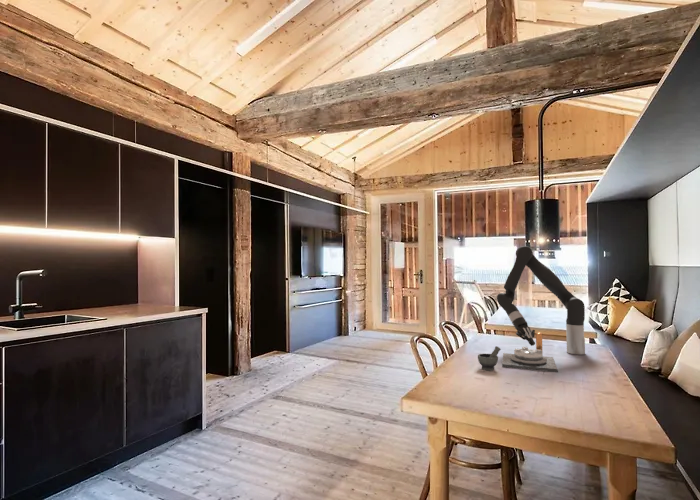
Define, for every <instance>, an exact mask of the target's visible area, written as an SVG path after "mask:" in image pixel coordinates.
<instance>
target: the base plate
mask: <svg viewBox="0 0 700 500" xmlns="http://www.w3.org/2000/svg"><path fill="white" fill-rule="evenodd" d="M501 363H502V364H501V365H502V368H509V369H510V368H511V369H520V370H530V371H542V372H551V373H559V369H558V366H557V363H556V361H555V358H554V357H553V356H544V355H543V359H542V360H536V361H532V360H523V359H519V358H516V357H515V356H514V353H505V352H504V353H503V354H502V362H501Z"/></svg>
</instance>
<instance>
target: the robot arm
mask: <svg viewBox="0 0 700 500" xmlns="http://www.w3.org/2000/svg"><path fill="white" fill-rule="evenodd" d="M515 257H516V258H515V261H514V264H513V266H512V268H511V271H510V272H509V274H508V275H507V278H506V279H505V280H506V281H505V283H504V285H503V289H504V290H505V293H504V292H500V293H498V294H497V296H496V302H497V303H498V305H499V307H501V308H502V310H504V311H505V313H506V314H507V316H508V318H509V320H510V322H511V324H512V325H513V327H514V329H515V330H516V332H515V335H516V336H518V337H519V338H521V339H522V340H526V341H527V342H528V344H529V345H530V346H531V347H532V346H534V345H535V346H536V341H535V340H534V338H535V337H536V330H535V329H531V327H530V326H529V325H528V322H527V320H526V319H525V317H524V315H523V314H522V313H521V312H520V310H519V309H518V307H517V306H516V305H515V304H514V303H513V302H514V301H515V295H516V294H515V293H516V289H517V287H518V284H519V283H520V279H521V277H522V274H523V272H524V269H525V268H526V267H527V268H528V269H529V270H530V271H531V272H532V273H533V275H534V277H536V279H538V281H540V283H541V284H542V286H544V287H545V288H546V289H547V290H548V291H550V292H551V293H552V294H553V295H554V296H556V297H557V299H558V300H559V301H560V302H561V303H562V305H563V306H564V307H565V308H566V312H567V313H566V315H567V316H566V320H565V322H566V324H565V327H566V332H565V334H566V337H565V338H566V353H568V354H572V355H586V338H585V318H586V317H585V316H586V312H585V311H586V309H585V307H586V306H585V303H584V302H583V301H582V300H581V299H580V298H578V297H576V296H575V295H574V294H572V293H571V292H570V291H569V289H568V288H566V287H565V285H564V283H563V282H562V281H561V280H560V278H559V277H558V275H556V273H554V272H553V270H552V269H550V268H549V267H548V266H547V265H545V264H543V263H542V262H540V261H539V260H538V258H537V257H536V256H535V255H534V254H533V250H532V248H531V247H529V246H528V245H522V246H519V247H518V248H517V249H516V250H515Z"/></svg>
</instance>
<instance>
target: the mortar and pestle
mask: <svg viewBox="0 0 700 500" xmlns="http://www.w3.org/2000/svg"><path fill="white" fill-rule="evenodd" d="M500 351H501V348H500V347H499V346H495V347H494V349H493V351H492V352H491V353H478V355H477V360H478V364H479V365H481V370H483V371H486V370H487V372H493V370H494V371H495V366H496V365H497V363H498V362H499V360H498V359H499V356H498V354H499V352H500Z"/></svg>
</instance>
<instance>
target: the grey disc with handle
mask: <svg viewBox="0 0 700 500" xmlns="http://www.w3.org/2000/svg"><path fill="white" fill-rule="evenodd" d="M535 348H536V349H532V348H529V347H528V346H521V348H514V350H513V351H514V353H513V354H514V356H515V357H516V358H519V359H523V360H532V361H536V360H542V359H543V356H544V355H543V353H544V352H543V333H542V332H535Z"/></svg>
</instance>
